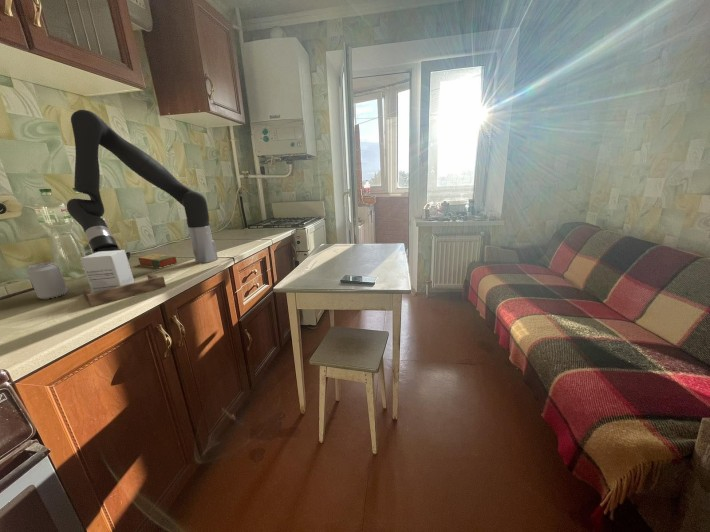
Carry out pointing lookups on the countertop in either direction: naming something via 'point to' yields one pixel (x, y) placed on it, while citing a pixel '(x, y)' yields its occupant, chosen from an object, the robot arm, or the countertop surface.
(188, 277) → the countertop surface
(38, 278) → the can
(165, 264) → the carton
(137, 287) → the wooden tray
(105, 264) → the supplement box
